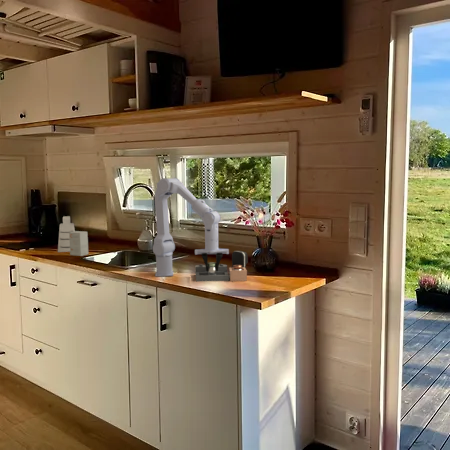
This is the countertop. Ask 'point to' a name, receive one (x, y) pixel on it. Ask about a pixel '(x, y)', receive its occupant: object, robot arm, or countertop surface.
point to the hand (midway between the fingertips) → (211, 270)
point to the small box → (78, 243)
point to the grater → (65, 234)
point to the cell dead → (237, 267)
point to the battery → (239, 258)
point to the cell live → (211, 268)
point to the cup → (238, 274)
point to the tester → (203, 275)
